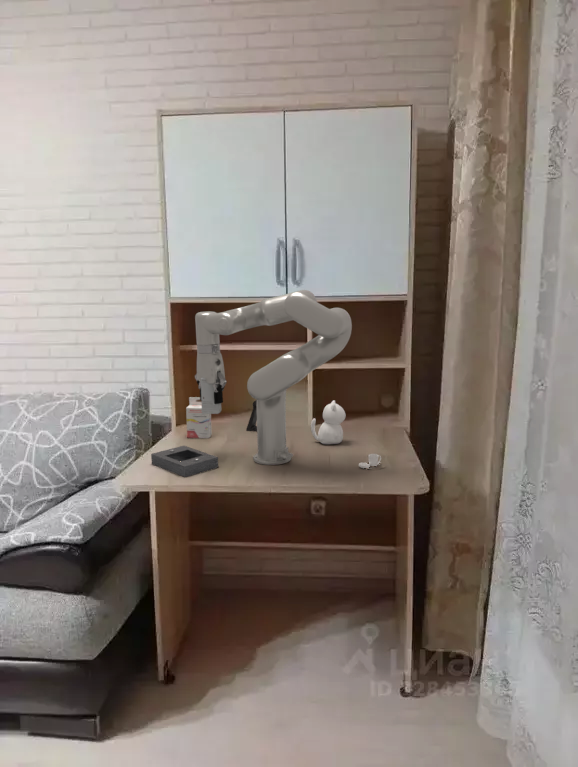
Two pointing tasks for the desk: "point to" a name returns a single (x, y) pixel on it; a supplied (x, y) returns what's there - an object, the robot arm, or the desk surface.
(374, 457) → the teacup and saucer
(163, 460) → the grey rectangular frame
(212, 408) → the skincare box
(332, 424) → the cat figurine
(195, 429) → the ink cartridge box
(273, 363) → the robot arm
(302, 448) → the desk surface
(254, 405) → the phone stand
